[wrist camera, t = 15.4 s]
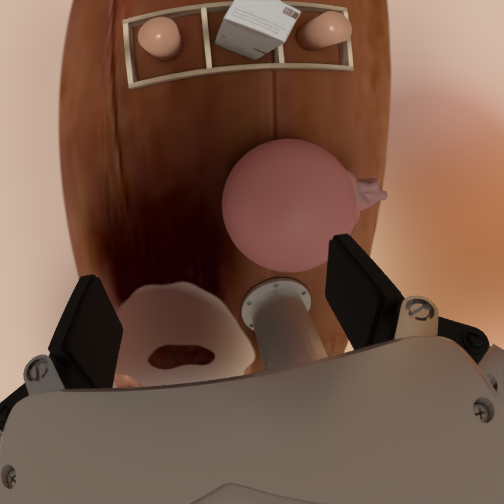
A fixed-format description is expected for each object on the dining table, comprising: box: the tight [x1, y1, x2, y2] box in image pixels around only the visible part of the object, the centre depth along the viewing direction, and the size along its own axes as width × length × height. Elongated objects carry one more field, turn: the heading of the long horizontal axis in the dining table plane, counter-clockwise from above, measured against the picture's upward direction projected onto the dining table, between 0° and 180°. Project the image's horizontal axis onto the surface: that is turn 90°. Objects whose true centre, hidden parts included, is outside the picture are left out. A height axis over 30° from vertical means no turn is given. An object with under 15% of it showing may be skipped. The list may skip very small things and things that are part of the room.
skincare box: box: [214, 0, 301, 60], centre depth 23 cm, size 6×4×12 cm
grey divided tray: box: [123, 1, 353, 89], centre depth 24 cm, size 10×28×8 cm, turn 95°
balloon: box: [222, 139, 387, 272], centre depth 33 cm, size 15×20×15 cm
